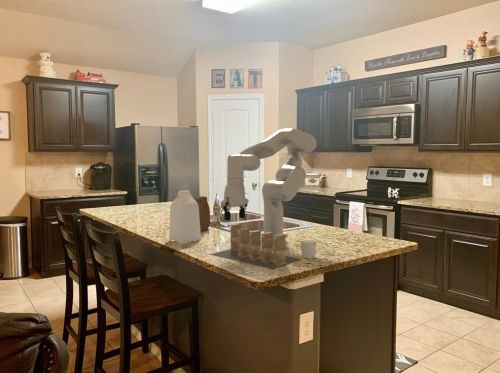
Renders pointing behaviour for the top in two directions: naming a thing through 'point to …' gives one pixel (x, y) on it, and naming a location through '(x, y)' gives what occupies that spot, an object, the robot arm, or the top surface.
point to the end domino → (234, 236)
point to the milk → (184, 218)
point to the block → (203, 212)
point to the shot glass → (308, 249)
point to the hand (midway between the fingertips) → (234, 219)
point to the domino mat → (234, 256)
